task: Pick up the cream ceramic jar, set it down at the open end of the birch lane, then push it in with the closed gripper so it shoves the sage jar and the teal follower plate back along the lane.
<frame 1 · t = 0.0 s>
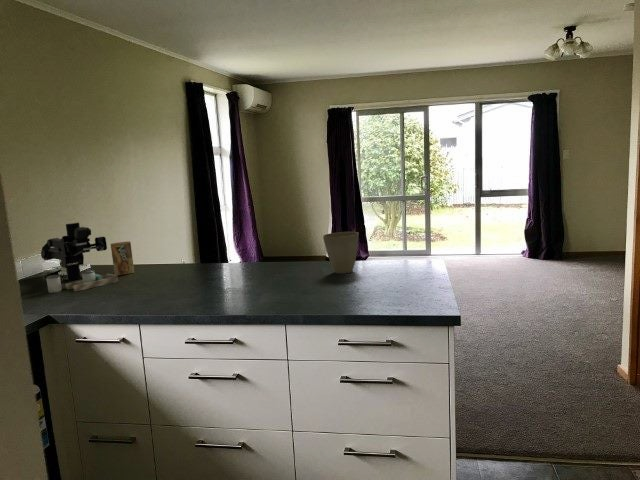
hand: (93, 247, 227), 17 cm above the countertop, tool horizontal, fingers open, 9 cm apart
jar in lane: (90, 286, 227), resting in lane
plant pot: (343, 272, 218), on the countertop
candy box: (124, 274, 250), on the countertop
lane: (91, 285, 228), on the countertop
jar: (55, 291, 222), on the countertop
follower: (97, 279, 229), point 2 cm above the countertop, slide at 0.0 cm
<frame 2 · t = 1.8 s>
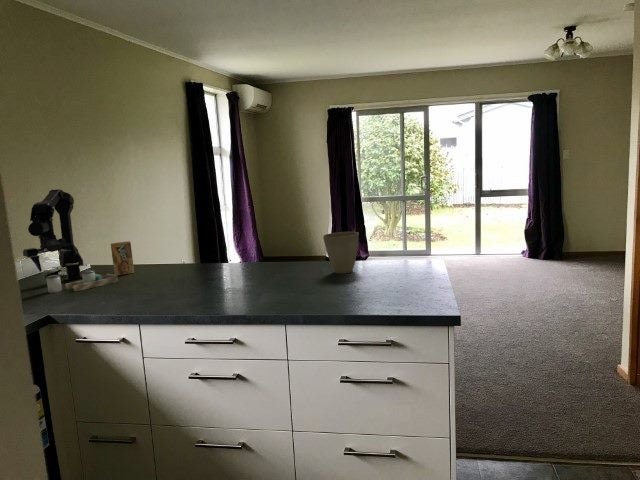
hand: (52, 269, 221), 9 cm above the countertop, tool pointing down, fingers open, 9 cm apart
nothing on the countertop moved.
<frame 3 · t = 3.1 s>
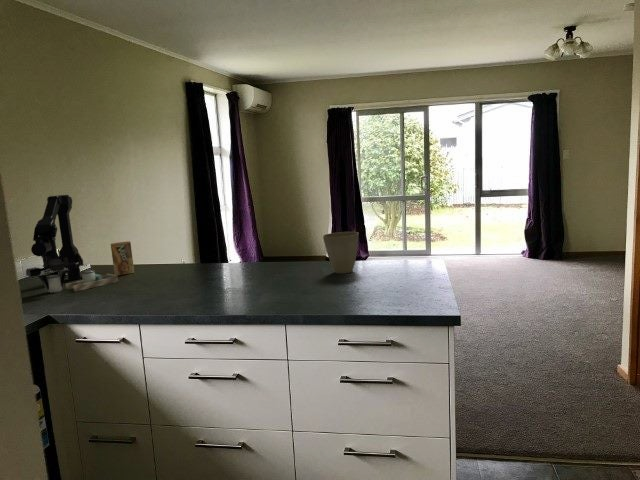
hand: (54, 288, 222), 1 cm above the countertop, tool pointing down, fingers closed on jar, 5 cm apart
jar: (55, 291, 222), on the countertop, touching gripper
everything else where it was.
when the fingers open (2 cm above the countertop, at t = 6.7 s): jar stays where it is, on the countertop.
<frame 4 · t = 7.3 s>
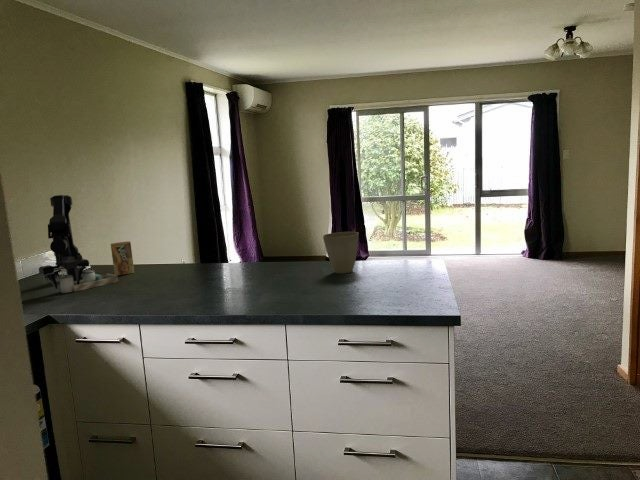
hand: (67, 286, 220), 2 cm above the countertop, tool pointing down, fingers open, 9 cm apart
jar in lane: (90, 286, 227), resting in lane, touching gripper
jar: (68, 291, 220), on the countertop
everything else where it was.
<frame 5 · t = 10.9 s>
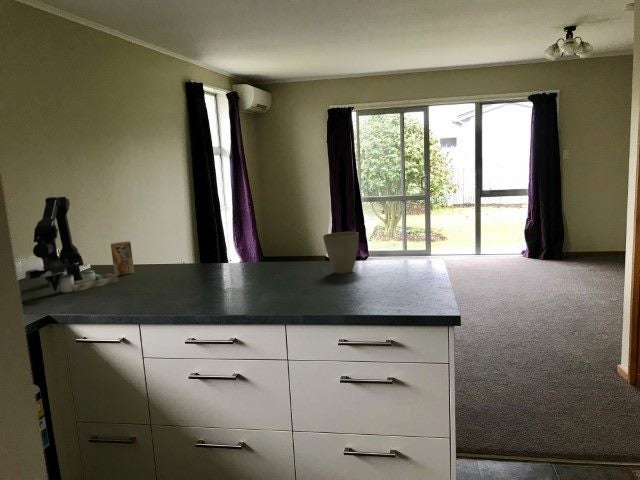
hand: (55, 290, 216), 1 cm above the countertop, tool pointing down, fingers closed
jar in lane: (90, 286, 227), resting in lane
jar: (68, 290, 220), on the countertop, touching gripper
everything else where it was.
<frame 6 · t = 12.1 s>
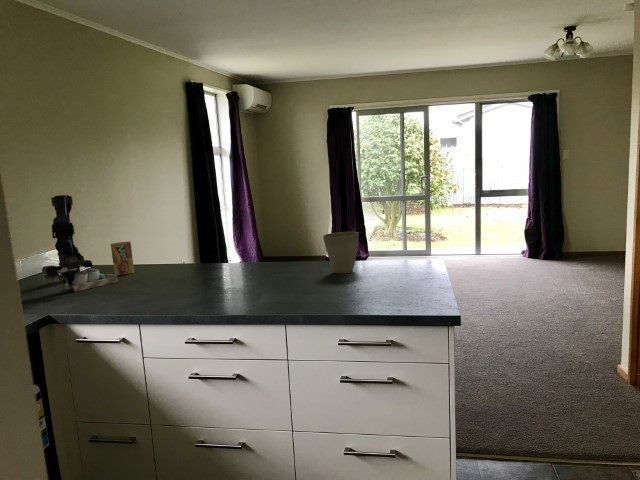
hand: (70, 286, 221), 2 cm above the countertop, tool pointing down, fingers closed
jar in lane: (93, 284, 228), resting in lane, tilted 7°, touching follower, jar
jar: (81, 287, 224), resting in lane, tilted 8°, touching gripper, jar in lane
follower: (100, 278, 231), point 2 cm above the countertop, slide at 1.5 cm, touching jar in lane
everything else where it was.
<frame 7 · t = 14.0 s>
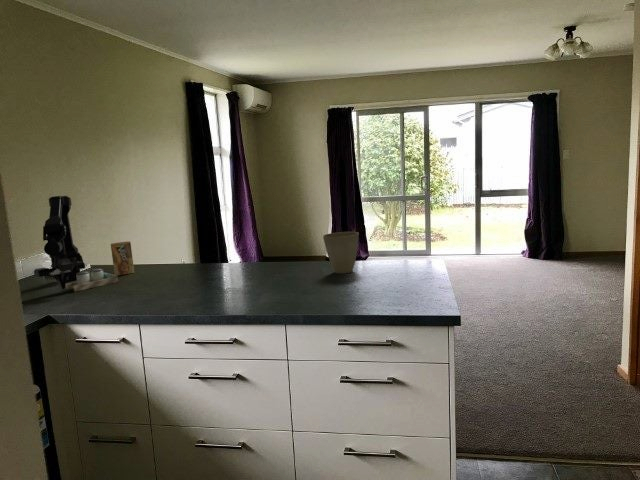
hand: (63, 288, 218), 1 cm above the countertop, tool pointing down, fingers closed
jar in lane: (98, 284, 230), resting in lane
jar: (84, 287, 225), resting in lane
follower: (105, 277, 232), point 2 cm above the countertop, slide at 3.6 cm
everything else where it was.
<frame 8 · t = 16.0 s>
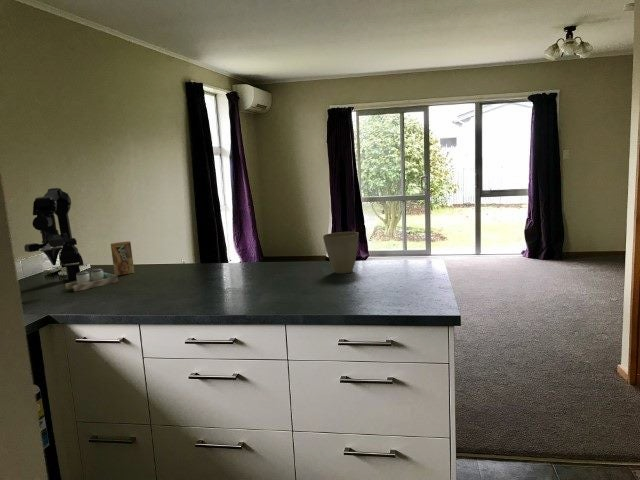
hand: (54, 265, 216), 12 cm above the countertop, tool pointing down, fingers closed
nothing on the countertop moved.
at the end: jar inside the target area on the lane (0.4 cm from its centre), point 0.0 cm above the lane's base; follower slide at 3.6 cm; jar tilted 0° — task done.
